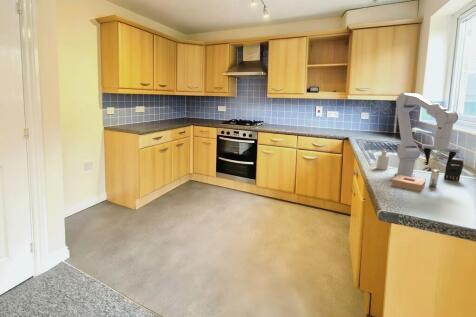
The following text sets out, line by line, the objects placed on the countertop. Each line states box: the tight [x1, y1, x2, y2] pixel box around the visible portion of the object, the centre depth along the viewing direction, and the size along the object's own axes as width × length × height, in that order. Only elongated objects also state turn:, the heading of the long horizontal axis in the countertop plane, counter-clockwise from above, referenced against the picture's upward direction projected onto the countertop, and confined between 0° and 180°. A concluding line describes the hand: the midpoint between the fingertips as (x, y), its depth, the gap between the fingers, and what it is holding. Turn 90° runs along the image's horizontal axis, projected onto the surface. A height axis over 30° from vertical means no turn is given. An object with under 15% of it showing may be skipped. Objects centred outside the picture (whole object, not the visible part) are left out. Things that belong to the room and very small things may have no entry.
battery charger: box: [443, 157, 465, 182], centre depth 147 cm, size 7×4×11 cm, turn 57°
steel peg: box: [428, 169, 440, 188], centre depth 135 cm, size 3×3×8 cm
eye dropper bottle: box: [375, 148, 390, 170], centre depth 164 cm, size 4×6×12 cm
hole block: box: [391, 175, 426, 192], centre depth 136 cm, size 12×12×3 cm
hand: (436, 165), depth 134 cm, fingers open, 7 cm apart
